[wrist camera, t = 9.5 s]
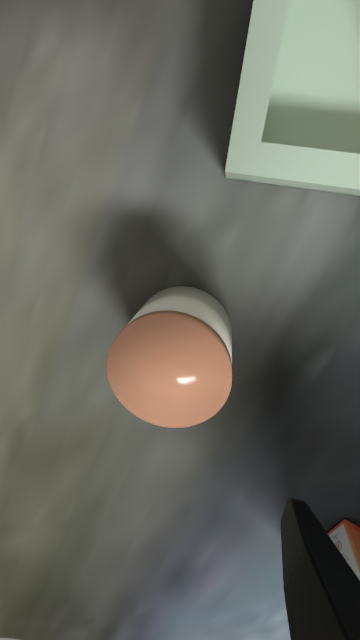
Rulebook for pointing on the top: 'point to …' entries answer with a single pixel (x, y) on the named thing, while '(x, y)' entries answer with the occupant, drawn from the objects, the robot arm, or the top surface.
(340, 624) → the robot arm
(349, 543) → the cracker box
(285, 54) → the green tote
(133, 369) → the cream tub
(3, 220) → the top surface
